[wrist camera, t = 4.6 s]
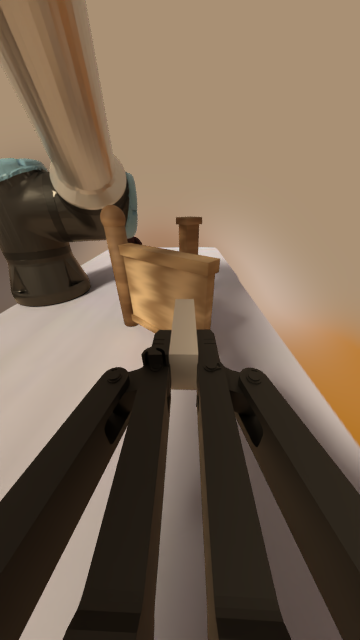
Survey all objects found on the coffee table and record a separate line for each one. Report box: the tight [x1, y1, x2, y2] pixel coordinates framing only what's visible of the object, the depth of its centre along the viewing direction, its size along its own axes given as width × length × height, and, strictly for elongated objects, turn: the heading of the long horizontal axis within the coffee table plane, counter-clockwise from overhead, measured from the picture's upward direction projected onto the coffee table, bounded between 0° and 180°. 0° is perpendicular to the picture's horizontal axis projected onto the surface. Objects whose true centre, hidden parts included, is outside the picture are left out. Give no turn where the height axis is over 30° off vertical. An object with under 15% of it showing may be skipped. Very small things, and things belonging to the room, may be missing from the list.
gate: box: [118, 243, 220, 334], centre depth 23 cm, size 14×2×11 cm, turn 48°
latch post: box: [176, 217, 202, 255], centre depth 35 cm, size 3×3×15 cm
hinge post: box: [100, 205, 138, 327], centre depth 27 cm, size 3×3×17 cm
